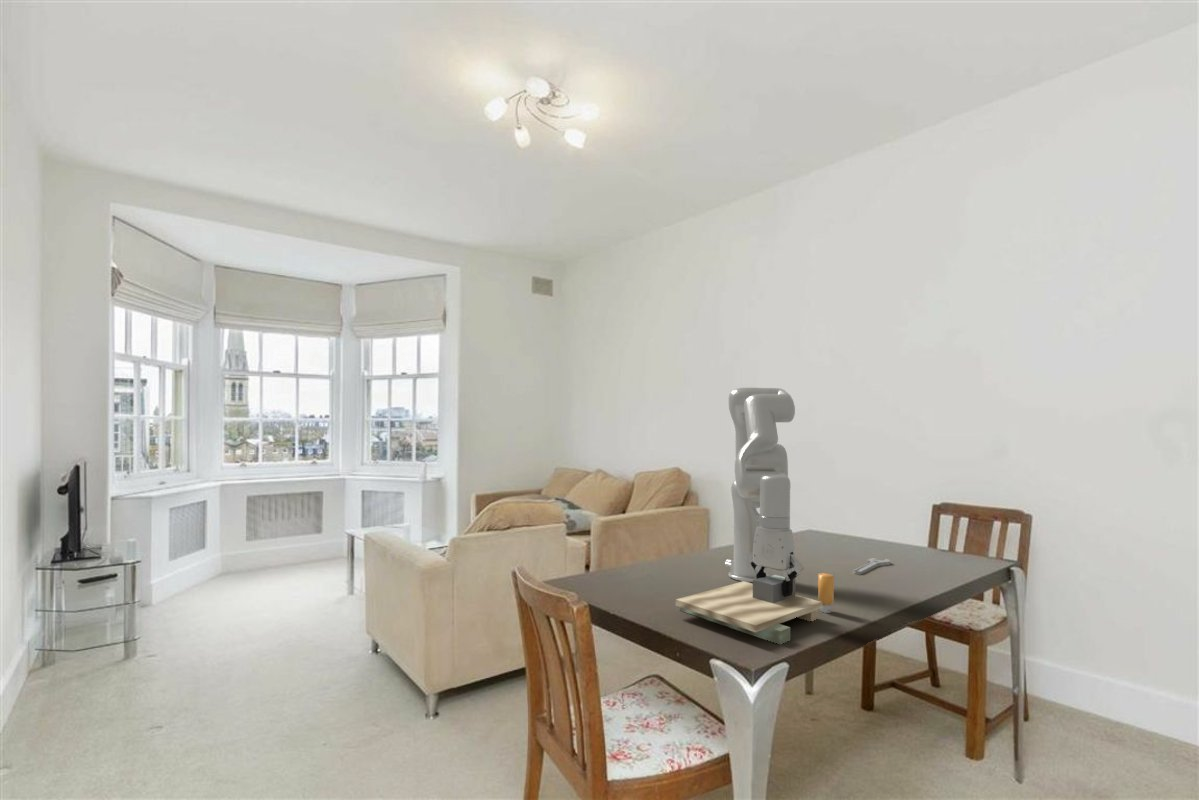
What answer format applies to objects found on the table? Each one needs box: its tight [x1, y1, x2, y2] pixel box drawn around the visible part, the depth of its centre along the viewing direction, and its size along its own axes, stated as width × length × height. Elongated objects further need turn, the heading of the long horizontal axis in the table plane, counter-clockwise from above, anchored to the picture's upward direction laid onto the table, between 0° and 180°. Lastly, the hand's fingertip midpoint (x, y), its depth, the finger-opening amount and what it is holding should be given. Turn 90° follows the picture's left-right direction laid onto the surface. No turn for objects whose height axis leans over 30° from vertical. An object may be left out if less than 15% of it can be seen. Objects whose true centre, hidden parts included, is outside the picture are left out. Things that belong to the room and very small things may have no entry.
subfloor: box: [675, 581, 822, 646], centre depth 152 cm, size 30×28×4 cm
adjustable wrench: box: [852, 557, 891, 576], centre depth 207 cm, size 25×6×2 cm, turn 132°
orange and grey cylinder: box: [817, 572, 835, 614], centre depth 159 cm, size 4×4×10 cm
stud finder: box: [752, 573, 796, 603], centre depth 156 cm, size 6×10×5 cm, turn 130°
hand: (774, 591), depth 156 cm, fingers open, 7 cm apart
